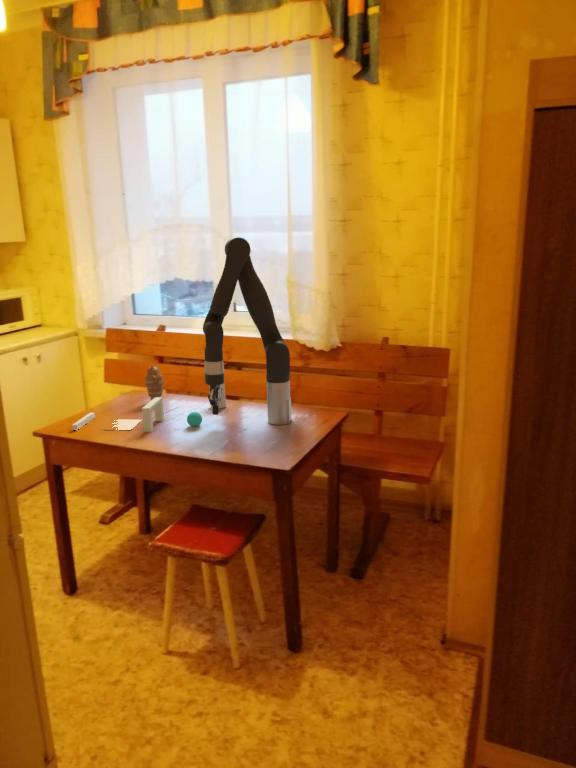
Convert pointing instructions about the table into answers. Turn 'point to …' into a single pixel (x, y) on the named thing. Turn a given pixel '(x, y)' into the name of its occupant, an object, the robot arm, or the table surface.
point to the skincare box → (222, 397)
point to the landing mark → (126, 424)
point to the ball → (194, 419)
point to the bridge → (147, 413)
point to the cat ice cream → (154, 382)
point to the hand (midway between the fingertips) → (216, 413)
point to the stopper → (83, 421)
